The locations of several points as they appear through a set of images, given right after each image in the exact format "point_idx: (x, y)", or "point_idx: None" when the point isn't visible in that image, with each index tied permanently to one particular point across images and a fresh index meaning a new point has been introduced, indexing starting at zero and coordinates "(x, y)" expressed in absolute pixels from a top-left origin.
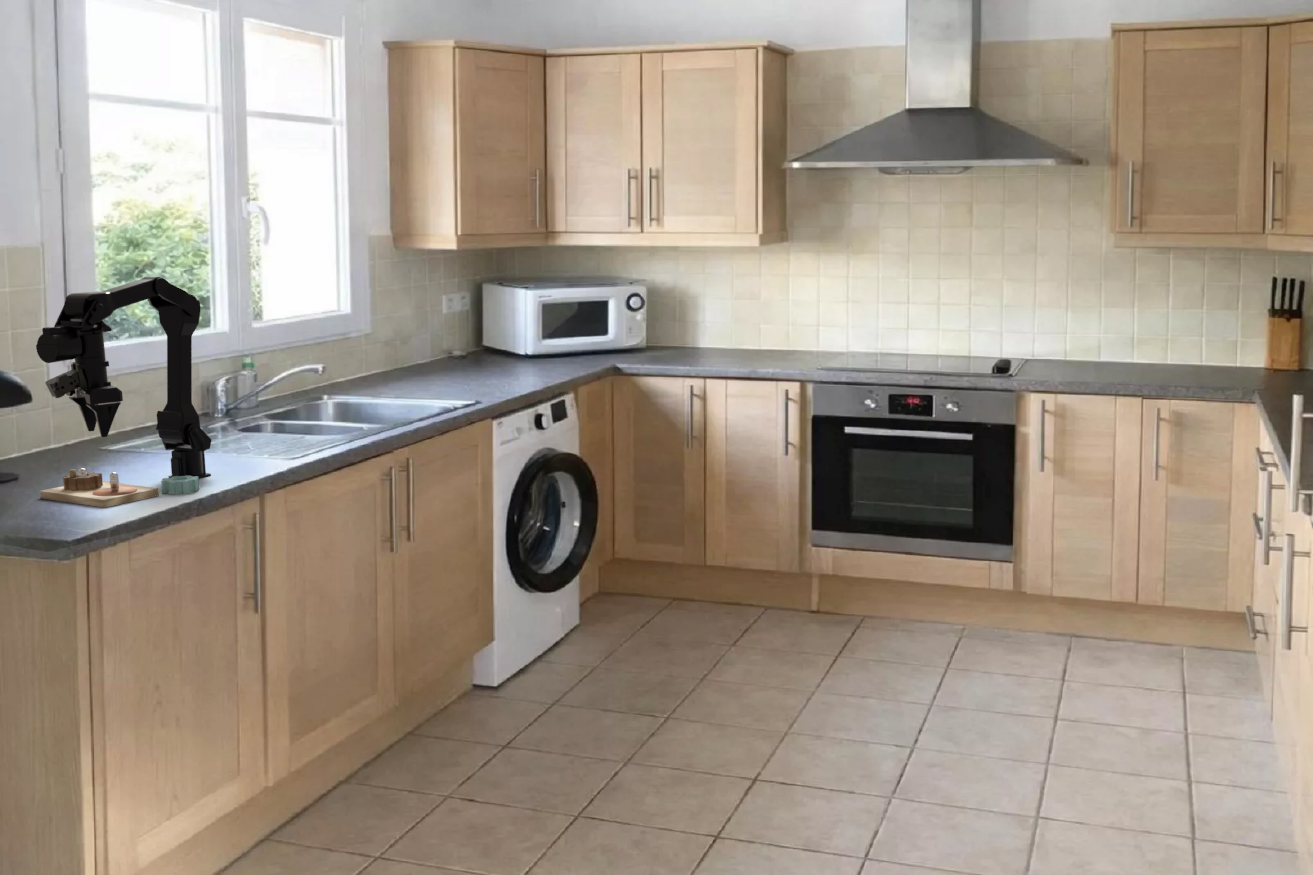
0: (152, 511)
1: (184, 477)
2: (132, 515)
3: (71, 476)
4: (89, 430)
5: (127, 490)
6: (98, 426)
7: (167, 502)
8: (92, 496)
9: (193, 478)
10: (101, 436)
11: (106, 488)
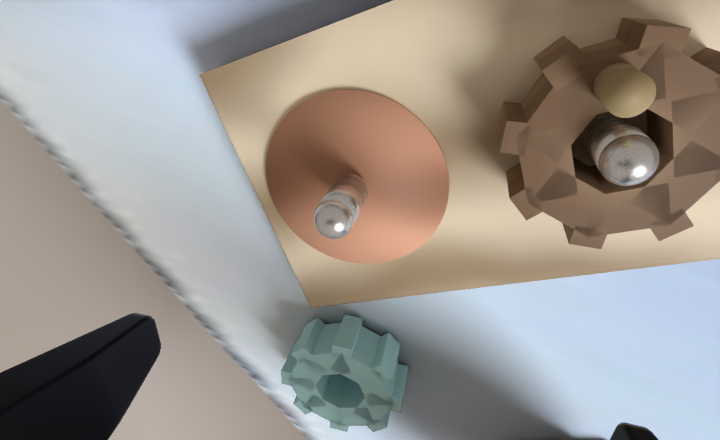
0: (93, 171)
1: (354, 408)
2: (53, 98)
3: (606, 69)
4: (620, 432)
5: None
6: (34, 378)
7: (210, 260)
8: (311, 67)
9: (314, 409)
10: (136, 314)
11: (438, 183)
